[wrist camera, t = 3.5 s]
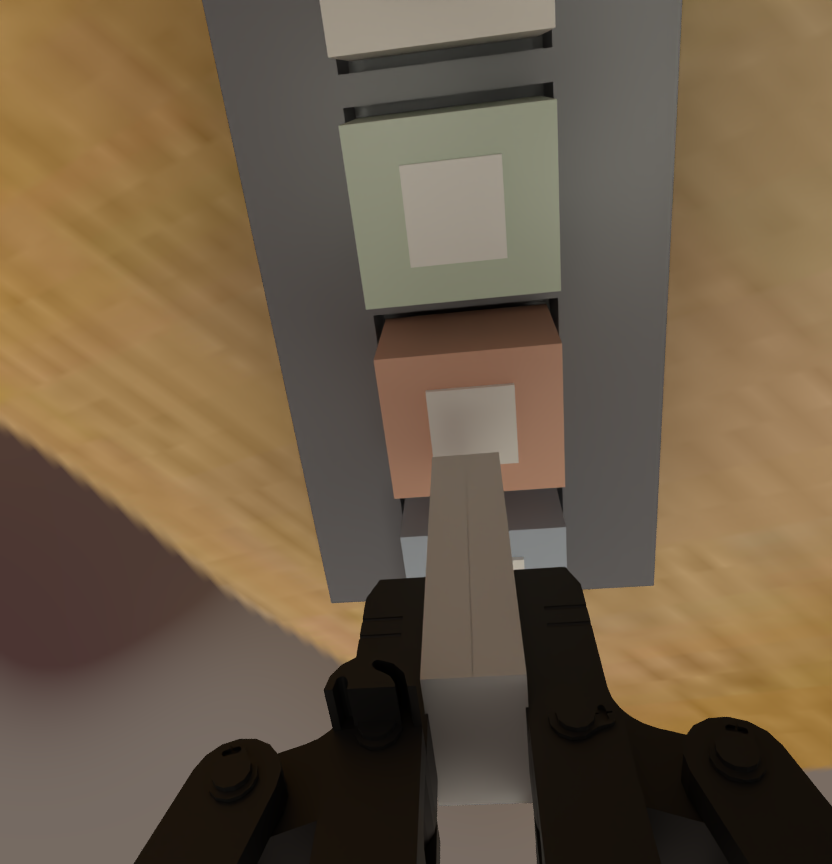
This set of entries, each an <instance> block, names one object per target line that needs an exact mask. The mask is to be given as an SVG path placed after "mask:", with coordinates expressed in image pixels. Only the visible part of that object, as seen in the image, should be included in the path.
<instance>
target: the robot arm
mask: <svg viewBox="0 0 832 864" xmlns="http://www.w3.org/2000/svg"><path fill="white" fill-rule="evenodd" d="M324 693H325V698H326V702H327V706H328V710H329V714H330V719H331V723H332V727H333V728H332V729H331V730H330V731H329V732H327V733H326V734H325V735H323V736H322V737H320V738H319V739H317V740H314V741H312V742H310V743H307V744H305V745H302V746H299V747H296V748H293V749H290V750H287V751H284V752H281V753H278V754H277V753H276V751H275V750H274V749H273V748H272V747H271V745H270V744H267V743H265V742H262V741H260V740H258V739H238V740H235V741H232V742H229V743H226V744H223V745H221V746H219V747H218V748H216V749H215V750H214V751H212V752H210V753H209V754H207V755H206V756H205V757H204V758H203V759H202V760H201V762H200V763H199V764H198V765H197V766H196V767H195V769H194V770H193V771H192V773H191V775H190V776H189V778H188V779H187V781H186V782H185V784H184V785H183V787H182V789H181V790H180V792H179V793H178V795H177V796H176V798H175V800H174V801H173V803H172V804H171V806H170V808H169V809H168V811H167V812H166V814H165V815H164V817H163V819H162V820H161V822H160V823H159V825H158V826H157V828H156V829H155V831H154V833H153V834H152V836H151V837H150V839H149V840H148V842H147V844H146V845H145V847H144V848H143V850H142V851H141V853H140V855H139V856H138V858H137V859H136V861H135V862H134V864H440V837H439V831H438V825H437V796H438V802H439V806H450V805H483V804H516V803H533V809H534V819H535V836H536V854H537V864H832V806H831V805H830V804H829V802H828V801H827V800H826V799H825V797H824V796H823V795H822V794H821V792H820V791H819V790H818V789H817V787H816V786H815V785H814V784H813V782H812V781H811V780H810V779H809V778H808V776H807V775H806V774H805V772H804V771H803V770H802V769H801V768H800V766H799V765H798V764H797V763H796V761H795V760H794V759H793V758H792V756H791V755H790V754H789V753H788V751H787V750H786V749H785V748H784V746H783V745H782V744H781V743H779V742H778V741H777V740H776V739H775V738H774V737H773V736H772V735H771V734H770V733H769V732H767V731H766V730H764V729H762V728H760V727H758V726H756V725H754V724H752V723H750V722H748V721H744V720H740V719H735V718H730V717H718V718H708V719H706V720H704V721H702V722H700V723H697V724H695V725H693V727H692V728H691V729H690V731H689V732H688V734H687V735H685V734H681V733H676V732H672V731H668V730H663V729H659V728H656V727H653V726H650V725H647V724H644V723H642V722H640V721H638V720H636V719H634V718H633V717H631V716H629V715H628V714H627V713H626V712H624V711H623V710H622V709H621V708H620V707H619V706H618V705H617V704H616V702H615V701H614V700H613V698H612V697H611V695H610V692H609V690H608V687H607V684H606V680H605V676H604V672H603V668H602V665H601V661H600V657H599V653H598V649H597V645H596V641H595V637H594V633H593V629H592V626H591V623H590V618H589V614H588V610H587V608H586V602H585V598H584V594H583V590H582V587H581V583H580V582H579V581H578V580H577V579H576V578H575V577H574V576H573V575H572V574H571V573H570V571H569V570H568V569H567V568H566V567H550V568H534V569H518V570H513V562H512V554H511V546H510V538H509V530H508V522H507V514H506V506H505V498H504V490H503V482H502V474H501V466H500V458H499V452H492V453H479V454H466V455H453V456H440V457H432V469H431V487H430V505H429V524H428V542H427V560H426V577H417V578H401V579H384V580H379V582H378V583H377V584H376V586H375V587H374V588H373V590H372V591H371V592H370V594H369V595H368V596H367V598H366V602H365V608H364V614H363V623H362V626H361V632H360V639H359V644H358V650H357V656H356V658H354V659H352V660H350V661H348V662H346V663H344V664H342V665H341V666H340V667H339V668H338V669H337V670H336V671H335V672H334V673H333V674H332V675H331V676H330V677H329V680H328V682H327V684H326V686H325V688H324Z"/></svg>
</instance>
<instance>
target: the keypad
mask: <svg viewBox="0 0 832 864" xmlns="http://www.w3.org/2000/svg"><path fill="white" fill-rule="evenodd" d="M202 2H203V7H204V12H205V16H206V21H207V26H208V30H209V35H210V40H211V44H212V49H213V54H214V58H215V63H216V68H217V72H218V77H219V81H220V86H221V91H222V95H223V100H224V105H225V109H226V114H227V119H228V123H229V128H230V133H231V137H232V142H233V147H234V151H235V156H236V161H237V165H238V170H239V175H240V179H241V184H242V189H243V193H244V198H245V203H246V207H247V212H248V217H249V221H250V226H251V231H252V235H253V240H254V244H255V249H256V254H257V258H258V263H259V268H260V272H261V277H262V282H263V286H264V291H265V296H266V300H267V305H268V310H269V314H270V319H271V324H272V328H273V333H274V338H275V342H276V347H277V352H278V356H279V361H280V366H281V370H282V375H283V380H284V384H285V389H286V393H287V398H288V403H289V407H290V412H291V417H292V421H293V426H294V431H295V435H296V440H297V445H298V449H299V454H300V459H301V463H302V468H303V473H304V477H305V482H306V487H307V491H308V496H309V501H310V505H311V510H312V515H313V519H314V524H315V529H316V533H317V538H318V543H319V547H320V552H321V556H322V561H323V566H324V570H325V575H326V580H327V584H328V589H329V594H330V598H331V603H343V602H361V601H366V598H367V596H368V595H369V594H370V592H371V591H372V590H373V588H374V587H375V586H376V584H377V583H378V582H379V580H384V579H401V578H406V573H405V566H404V560H403V553H402V546H401V540H400V535H401V527H402V519H403V511H404V503H405V498H399V499H394V493H393V486H392V480H391V473H390V467H389V460H388V453H387V447H386V440H385V433H384V427H383V420H382V413H381V407H380V400H379V393H378V387H377V380H376V373H375V367H374V357H375V353H376V350H377V347H378V343H379V340H380V337H381V333H382V330H383V326H384V323H385V320H386V319H390V318H401V317H411V316H422V315H432V314H443V313H454V312H464V311H475V310H485V309H496V308H506V307H517V306H527V305H538V304H547V306H548V309H549V311H550V314H551V317H552V319H553V322H554V324H555V327H556V329H557V332H558V334H559V337H560V339H561V342H562V358H563V406H564V453H565V487H559V488H557V492H558V496H559V500H560V504H561V508H562V513H563V517H564V521H565V525H566V549H567V569H568V570H569V571H570V573H571V574H572V575H573V576H574V577H575V578H576V579H577V580H578V581H579V582H580V583H581V587H582V589H599V588H618V587H636V586H654V569H655V549H656V528H657V508H658V487H659V467H660V446H661V426H662V406H663V385H664V365H665V344H666V324H667V303H668V283H669V262H670V242H671V221H672V201H673V181H674V160H675V140H676V119H677V99H678V78H679V58H680V37H681V17H682V0H555V25H556V27H555V28H553V29H552V30H550V31H548V32H546V33H544V34H542V35H540V36H537V37H530V38H522V39H515V40H507V41H500V42H492V43H484V44H477V45H469V46H462V47H454V48H446V49H439V50H431V51H424V52H416V53H409V54H401V55H393V56H386V57H378V58H371V59H363V60H356V61H346V60H340V59H333V58H328V54H327V47H326V41H325V34H324V27H323V21H322V14H321V7H320V1H319V0H202ZM532 96H545V97H550V98H554V99H557V120H558V168H559V215H560V263H561V291H556V292H545V293H535V294H525V295H514V296H504V297H494V298H483V299H473V300H462V301H452V302H442V303H431V304H421V305H410V306H400V307H390V308H379V309H369V310H366V307H365V300H364V294H363V287H362V280H361V274H360V267H359V260H358V254H357V247H356V240H355V234H354V227H353V220H352V214H351V207H350V200H349V194H348V187H347V180H346V174H345V167H344V161H343V154H342V147H341V141H340V134H339V127H338V126H339V125H342V124H344V123H347V122H349V121H352V120H354V119H357V118H362V117H370V116H378V115H386V114H394V113H403V112H411V111H419V110H427V109H435V108H443V107H451V106H459V105H467V104H475V103H483V102H492V101H500V100H508V99H516V98H524V97H532Z"/></svg>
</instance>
